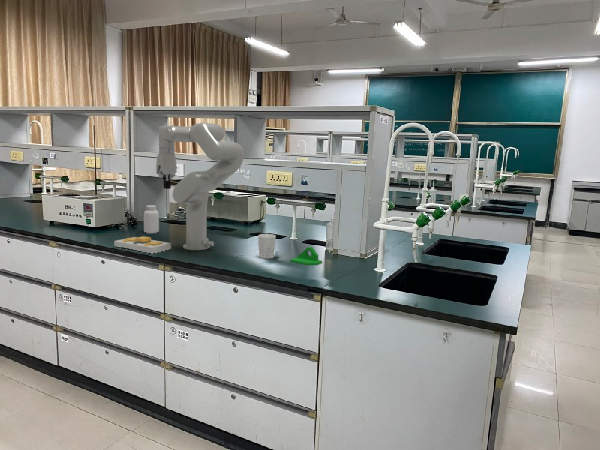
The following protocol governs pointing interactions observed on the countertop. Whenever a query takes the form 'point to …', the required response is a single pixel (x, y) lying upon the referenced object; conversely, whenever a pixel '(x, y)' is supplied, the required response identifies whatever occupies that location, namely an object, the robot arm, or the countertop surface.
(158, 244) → the key
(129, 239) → the key
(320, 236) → the countertop surface
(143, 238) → the key
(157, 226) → the pill bottle
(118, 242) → the white flat piece
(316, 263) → the bracket
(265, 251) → the white cup
